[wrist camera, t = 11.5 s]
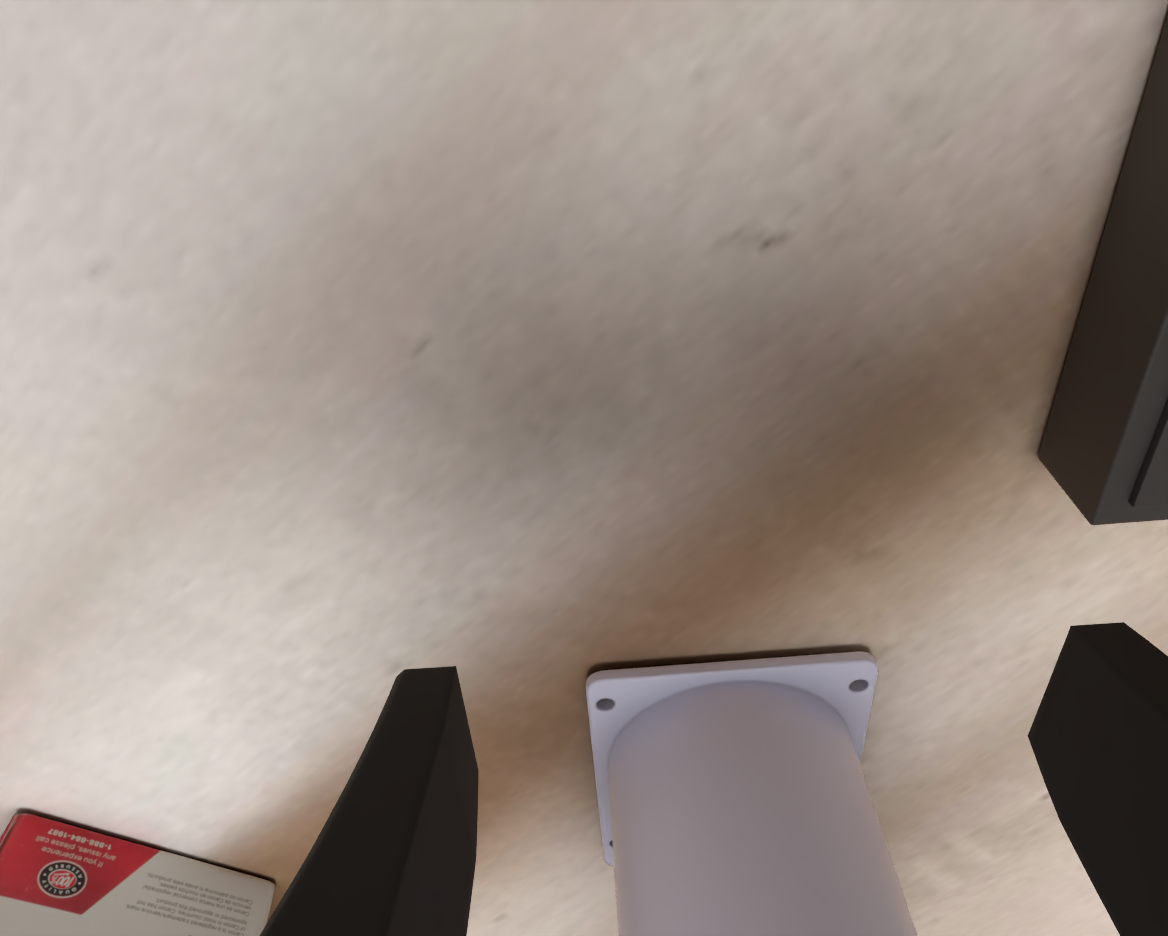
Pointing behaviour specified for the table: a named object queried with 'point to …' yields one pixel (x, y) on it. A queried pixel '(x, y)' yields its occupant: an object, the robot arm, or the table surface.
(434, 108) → the table surface
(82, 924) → the ink box
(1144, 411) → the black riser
